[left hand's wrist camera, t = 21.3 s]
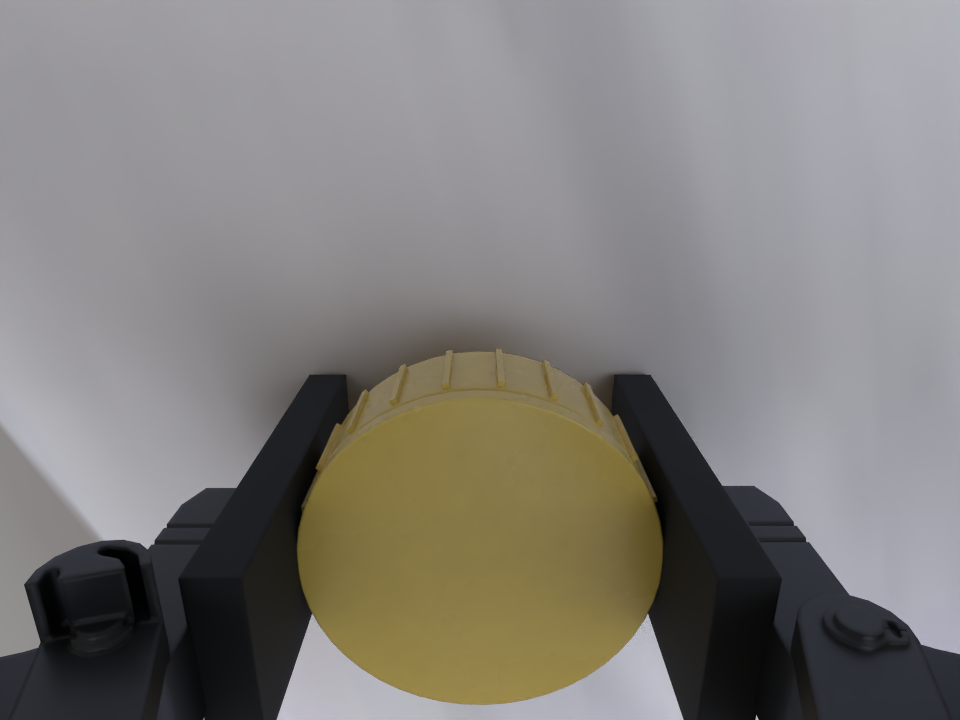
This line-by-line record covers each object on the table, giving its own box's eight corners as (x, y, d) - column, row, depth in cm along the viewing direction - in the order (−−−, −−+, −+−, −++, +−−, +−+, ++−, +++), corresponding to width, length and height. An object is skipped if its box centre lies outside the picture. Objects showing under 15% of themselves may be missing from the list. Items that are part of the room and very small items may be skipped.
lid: (317, 610, 13) (290, 694, 11) (326, 328, 11) (293, 373, 9) (608, 635, 13) (630, 722, 11) (668, 363, 11) (706, 414, 9)
